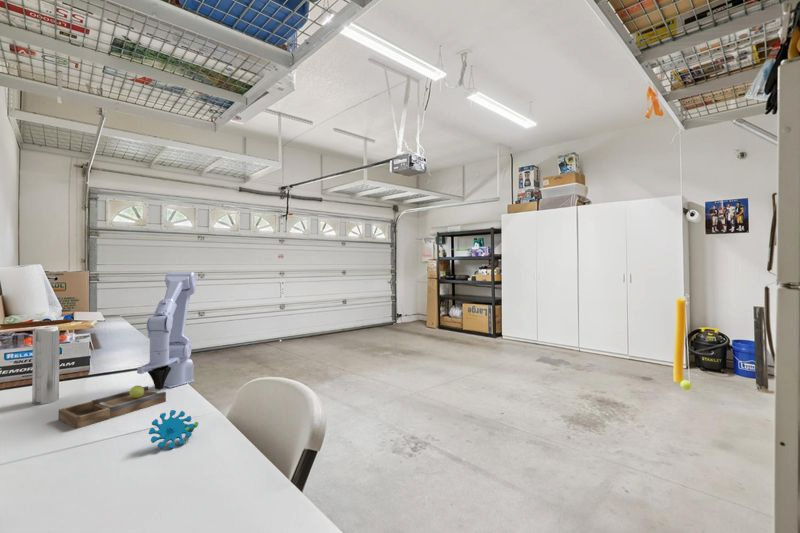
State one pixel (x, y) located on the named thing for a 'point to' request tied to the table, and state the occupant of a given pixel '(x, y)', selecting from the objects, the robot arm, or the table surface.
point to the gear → (172, 429)
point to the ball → (136, 391)
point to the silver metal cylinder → (45, 365)
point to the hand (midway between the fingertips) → (159, 388)
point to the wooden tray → (108, 407)
